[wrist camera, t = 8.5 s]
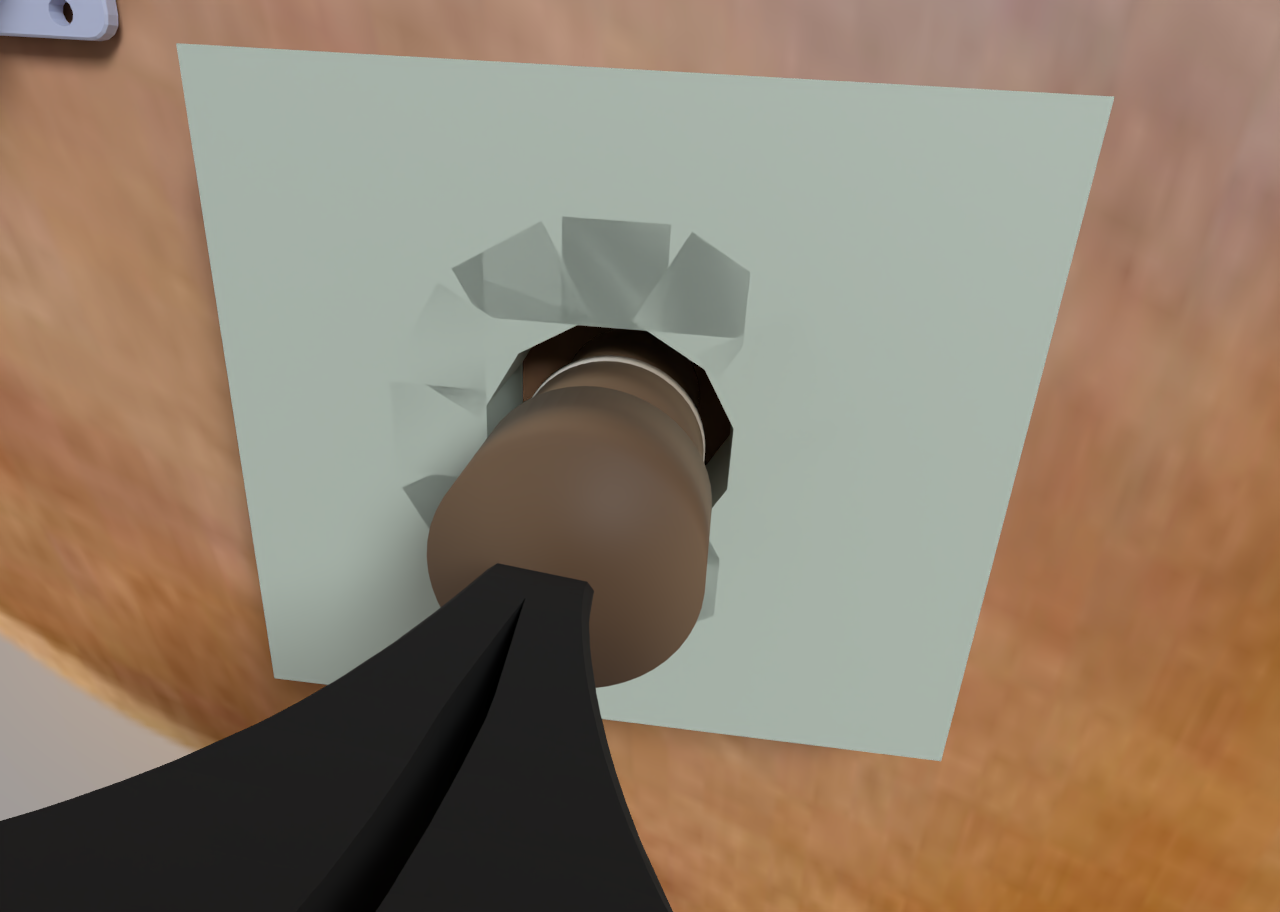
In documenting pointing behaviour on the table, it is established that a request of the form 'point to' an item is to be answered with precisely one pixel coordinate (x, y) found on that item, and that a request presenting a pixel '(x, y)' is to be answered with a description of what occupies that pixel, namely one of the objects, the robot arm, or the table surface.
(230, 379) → the board
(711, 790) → the table surface
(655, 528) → the peg
